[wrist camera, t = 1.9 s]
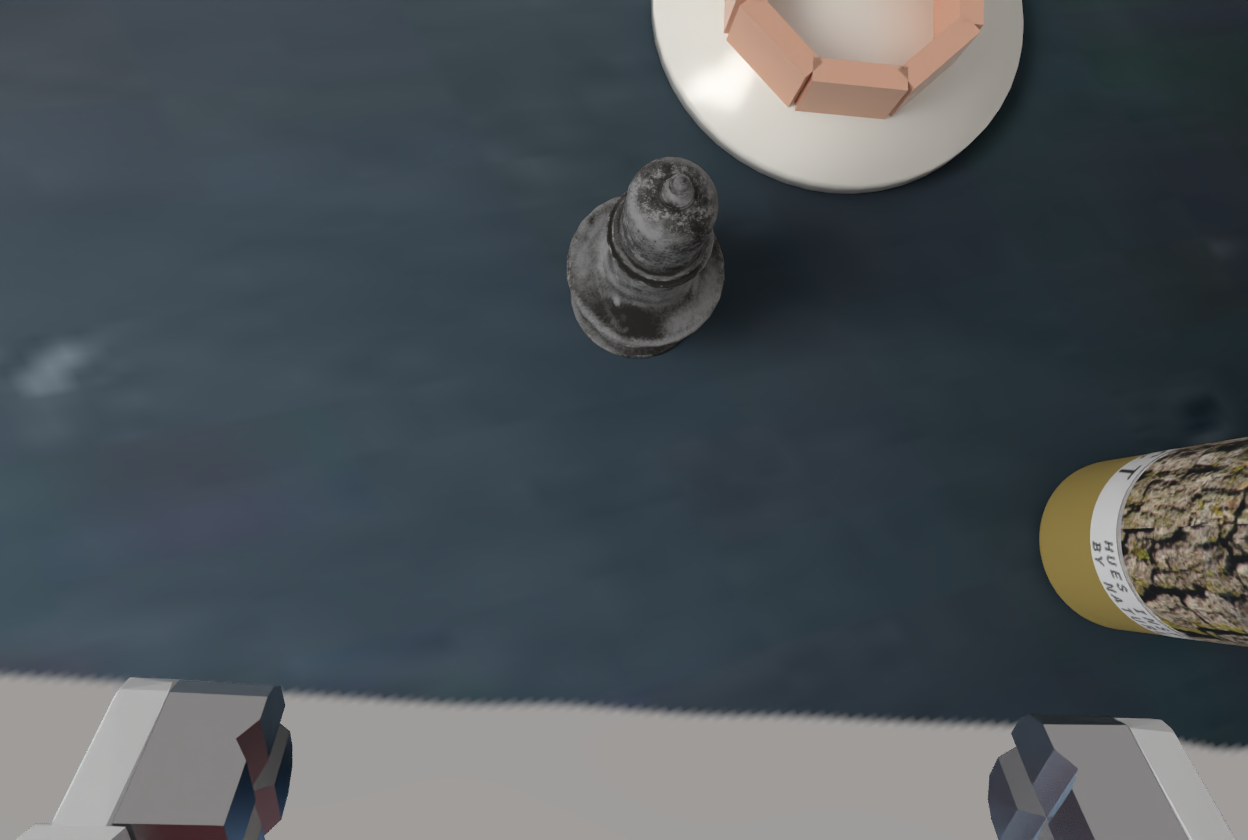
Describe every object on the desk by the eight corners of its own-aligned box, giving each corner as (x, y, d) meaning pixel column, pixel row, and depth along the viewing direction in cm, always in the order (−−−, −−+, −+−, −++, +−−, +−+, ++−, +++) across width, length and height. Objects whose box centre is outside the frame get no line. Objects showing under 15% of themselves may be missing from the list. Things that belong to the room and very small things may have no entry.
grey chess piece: (672, 203, 39) (733, 53, 27) (730, 332, 39) (818, 236, 27) (540, 255, 38) (544, 122, 27) (598, 388, 38) (629, 312, 26)
